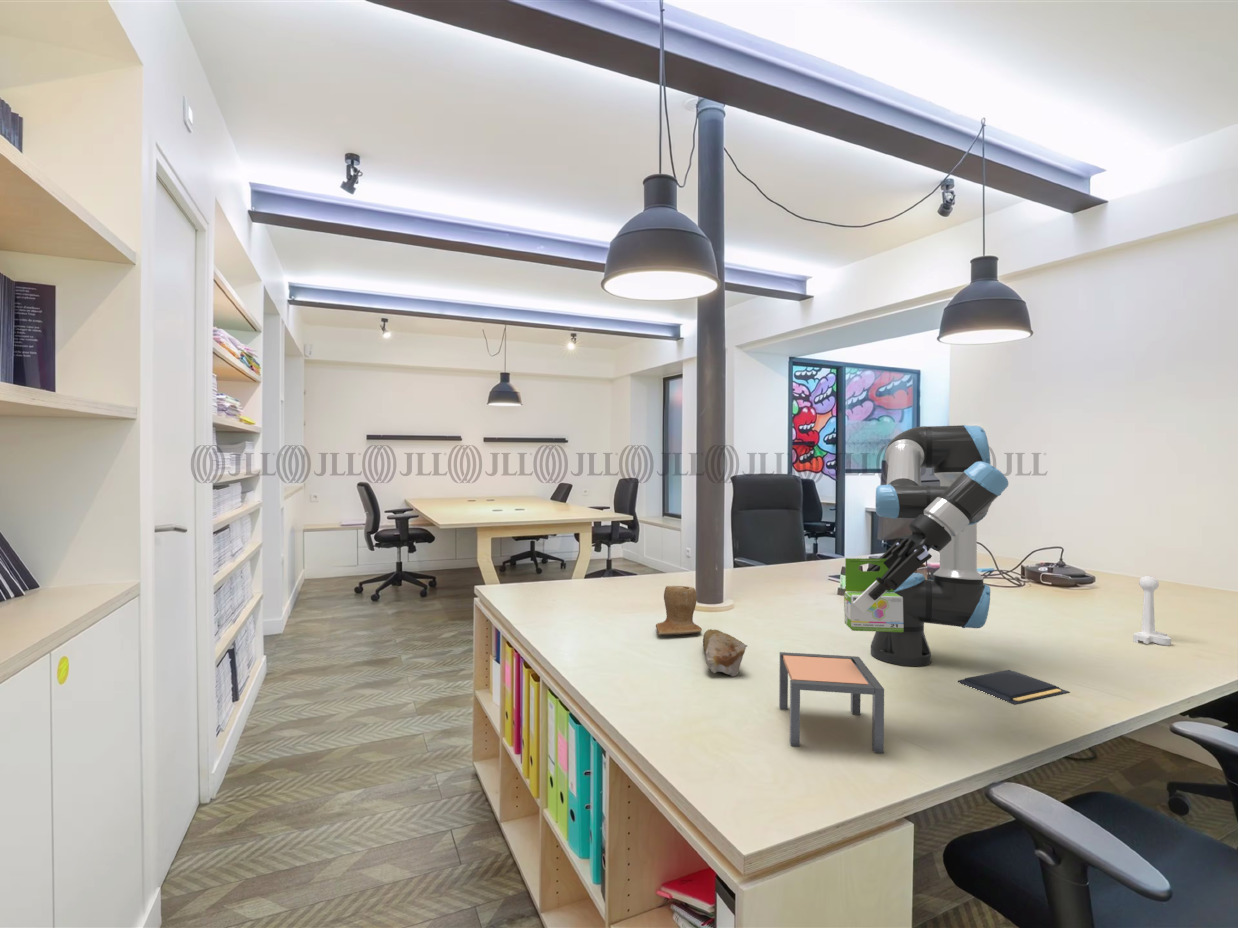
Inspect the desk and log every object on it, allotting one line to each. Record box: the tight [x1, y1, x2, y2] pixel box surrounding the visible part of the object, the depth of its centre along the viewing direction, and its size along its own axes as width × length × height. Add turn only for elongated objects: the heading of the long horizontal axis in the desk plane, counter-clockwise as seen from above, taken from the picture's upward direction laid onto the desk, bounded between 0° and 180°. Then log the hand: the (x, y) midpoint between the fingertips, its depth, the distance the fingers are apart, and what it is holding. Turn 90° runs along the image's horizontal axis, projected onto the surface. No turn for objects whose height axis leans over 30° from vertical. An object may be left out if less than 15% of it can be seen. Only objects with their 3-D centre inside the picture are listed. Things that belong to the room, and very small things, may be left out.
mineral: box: [702, 628, 748, 677], centre depth 156 cm, size 26×9×10 cm
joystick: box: [1132, 575, 1172, 647], centre depth 174 cm, size 11×8×20 cm
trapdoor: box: [783, 655, 869, 685], centre depth 117 cm, size 14×14×1 cm
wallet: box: [957, 669, 1071, 706], centre depth 139 cm, size 20×2×15 cm
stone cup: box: [655, 585, 703, 636], centre depth 181 cm, size 15×12×15 cm
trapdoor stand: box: [778, 651, 885, 754], centre depth 116 cm, size 17×18×12 cm
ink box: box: [843, 557, 904, 632], centre depth 118 cm, size 10×5×14 cm, turn 82°
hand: (854, 604), depth 118 cm, fingers closed on ink box, 5 cm apart
